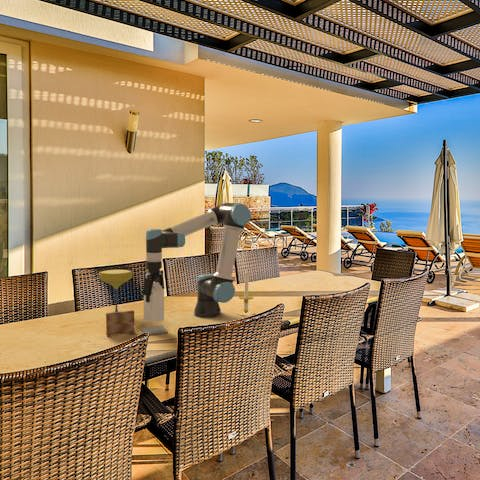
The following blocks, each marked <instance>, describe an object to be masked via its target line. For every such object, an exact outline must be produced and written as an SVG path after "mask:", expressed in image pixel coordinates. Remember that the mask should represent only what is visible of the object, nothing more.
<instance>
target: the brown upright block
mask: <svg viewBox="0 0 480 480" xmlns="http://www.w3.org/2000/svg"><path fill="white" fill-rule="evenodd" d="M105 324H106V325H105V326H106V327H105V328H106V329H105V330H106V332H105V335H107V336H106V338H112V336H119V335H118V334H120V335H127V334H128V333H129V334H130V335H136V332H135V331H136V330H135V310H133V309H132V310H124V311H123V310H122V311H118V312H115V311H112V312H106V313H105ZM129 334H128V335H129ZM111 335H112V336H111Z"/></svg>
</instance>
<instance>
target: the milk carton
mask: <svg viewBox="0 0 480 480" xmlns="http://www.w3.org/2000/svg"><path fill="white" fill-rule="evenodd" d="M151 295H152V309H147V308H146V295H143V321H145V322H147V323H151V324H156V323H158V322H162V321H163V322H164V320H165V290H163V288H162V287H161V285H160V284H159V282H156V283H155V282H154V283H153V287H152V291H151Z"/></svg>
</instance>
